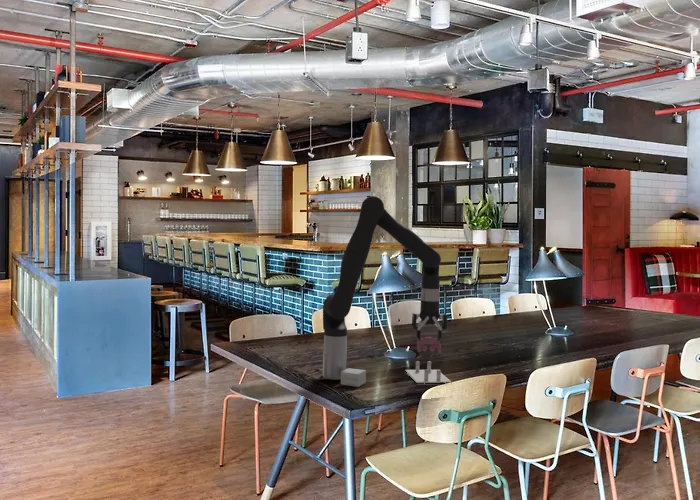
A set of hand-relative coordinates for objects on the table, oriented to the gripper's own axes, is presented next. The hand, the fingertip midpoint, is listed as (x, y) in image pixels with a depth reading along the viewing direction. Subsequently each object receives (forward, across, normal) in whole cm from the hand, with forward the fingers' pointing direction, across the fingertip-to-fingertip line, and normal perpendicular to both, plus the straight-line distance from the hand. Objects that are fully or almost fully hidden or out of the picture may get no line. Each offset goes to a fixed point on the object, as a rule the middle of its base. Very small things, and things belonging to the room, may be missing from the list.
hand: (428, 339), depth 257 cm
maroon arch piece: (+5, 0, -1) cm, 5 cm away
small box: (+16, -32, -8) cm, 36 cm away
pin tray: (+16, 0, 0) cm, 16 cm away
